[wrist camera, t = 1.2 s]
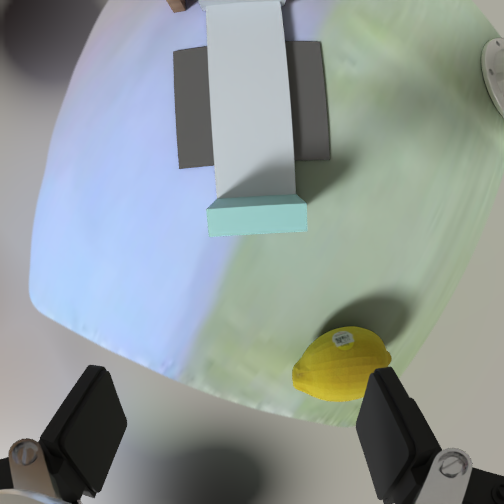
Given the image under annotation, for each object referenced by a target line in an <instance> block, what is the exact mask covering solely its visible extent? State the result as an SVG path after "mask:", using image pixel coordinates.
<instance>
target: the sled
mask: <svg viewBox="0 0 504 504" xmlns="http://www.w3.org/2000/svg"><path fill="white" fill-rule="evenodd" d="M198 1H199V4H200V6H201V9H202V11H206V24H207V50H208V71H209V90H210V108H211V124H212V139H213V153H214V167H215V180H216V192H217V199H216V200H215V201H214V202H213V203H212V204H211V205H210V206H209V207H208V208H207V209H206V211H207V222H208V232H209V237H217V236H233V235H249V234H266V233H284V232H303V231H307V203H306V202H304V201H303V200H302V199H301V198H300V197H299V196H297V195H296V185H295V165H294V147H293V132H292V117H291V104H290V91H289V79H288V68H287V58H286V48H285V38H284V29H283V20H282V12H281V6H285V1H286V0H198Z"/></svg>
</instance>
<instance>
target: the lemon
mask: <svg viewBox="0 0 504 504" xmlns="http://www.w3.org/2000/svg"><path fill="white" fill-rule="evenodd" d="M391 359H392V358H391V355H390V353H389V352H388V351H386V348H385V345H384V343H383V341H382V340H381V338H380V337H379V336H378V335H377V334H375V333H374V332H372V331H370V330H368V329H364V328H360V327H355V326H348V327H341V328H337V329H334V330H331V331H329V332H327V333H325V334H323V335H321V336H320V337H318V338H317V339H316V340H315V341H314V342H313V343H312V344H311V345H310V346H309V347H308V348H307V349H306V351H305V352H304V354H303V356H302V357H301V359H300V360H299V361H298V362H297V363H296V364H295V365H294V367H293V370H292V380H293V386H294V387H295V388H296V389H297V390H300V391H302V392H305V393H307V394H309V395H311V396H313V397H316V398H319V399H322V400H326V401H335V402H343V401H351V400H355V399H359V398H362V397H364V394H365V391H366V387H367V383H368V379H369V376H370V374H371V373H374V370H375V369H377V368H384V367H388V365H389V364H390V362H391Z"/></svg>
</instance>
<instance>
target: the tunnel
mask: <svg viewBox="0 0 504 504" xmlns="http://www.w3.org/2000/svg"><path fill="white" fill-rule="evenodd" d="M166 1H167V2H168V4H169V6H170V7H171V9H172V10H173V12H174V13H176V12H181V11H185V0H166Z"/></svg>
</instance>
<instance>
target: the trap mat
mask: <svg viewBox="0 0 504 504" xmlns="http://www.w3.org/2000/svg"><path fill="white" fill-rule="evenodd" d="M285 48H286V58H287V68H288V79H289V91H290V104H291V117H292V132H293V147H294V161H295V160H330V153H329V135H328V121H327V107H326V96H325V85H324V75H323V66H322V57H321V49H320V42H308V41H285ZM173 62H174V93H175V114H176V131H177V146H178V159H179V169H183V168H193V167H203V166H213V165H214V153H213V139H212V124H211V108H210V90H209V71H208V50H207V46H206V47H199V48H192V49H186V50H180V51H174V52H173Z"/></svg>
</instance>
